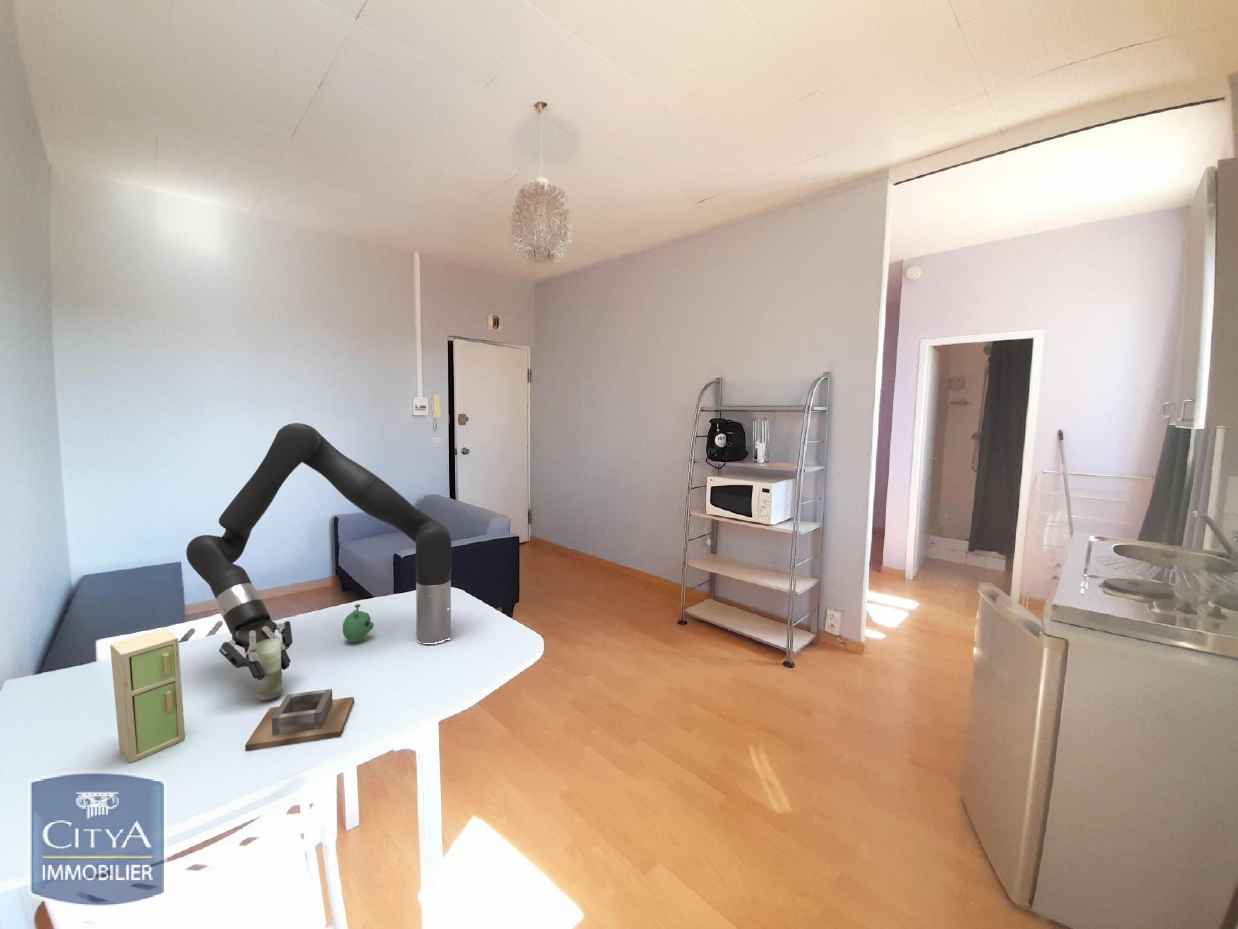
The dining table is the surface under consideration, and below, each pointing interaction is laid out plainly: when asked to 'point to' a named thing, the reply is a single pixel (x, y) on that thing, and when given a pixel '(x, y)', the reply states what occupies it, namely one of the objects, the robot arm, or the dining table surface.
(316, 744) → the dining table surface
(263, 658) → the pale green cylinder
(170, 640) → the toy refrigerator
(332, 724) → the jig
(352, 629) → the alien toy
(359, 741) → the dining table surface
